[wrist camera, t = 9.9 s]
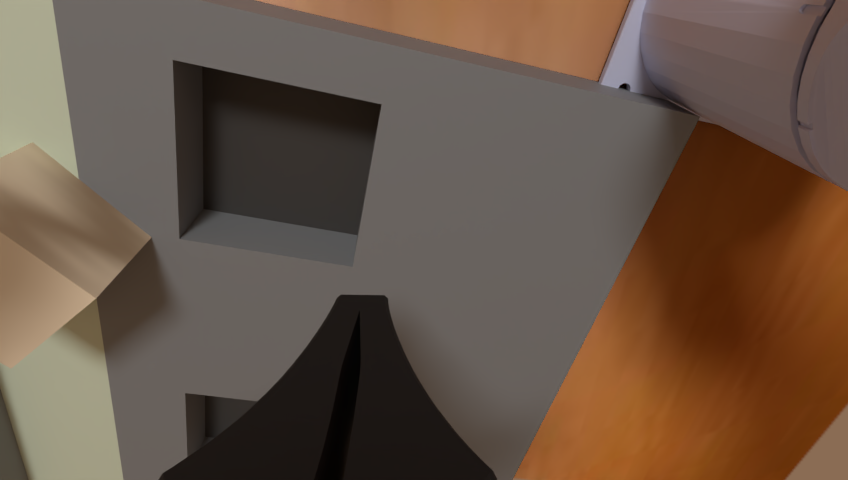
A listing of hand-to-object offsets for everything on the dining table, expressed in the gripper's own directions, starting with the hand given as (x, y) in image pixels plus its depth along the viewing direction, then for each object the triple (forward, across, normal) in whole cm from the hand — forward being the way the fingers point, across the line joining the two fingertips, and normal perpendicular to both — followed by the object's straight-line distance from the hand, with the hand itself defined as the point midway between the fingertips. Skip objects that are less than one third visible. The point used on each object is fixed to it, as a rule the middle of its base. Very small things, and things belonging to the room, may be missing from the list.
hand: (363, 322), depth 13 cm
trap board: (+9, +4, +6) cm, 12 cm away
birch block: (+6, +12, +1) cm, 14 cm away
